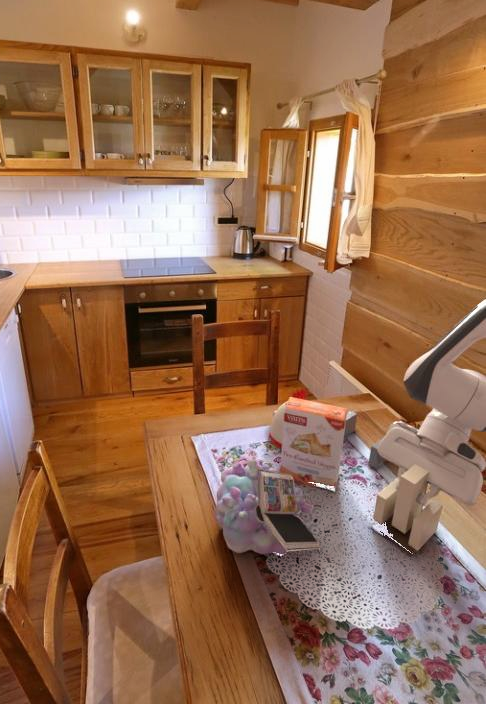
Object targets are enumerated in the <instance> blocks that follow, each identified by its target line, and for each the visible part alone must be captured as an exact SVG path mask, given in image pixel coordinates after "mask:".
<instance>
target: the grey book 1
mask: <svg viewBox="0 0 486 704" xmlns="http://www.w3.org/2000/svg"><path fill="white" fill-rule="evenodd" d="M357 421H358V413H356V411H353V410H351V411H349V412H347V417H346V424H345V432H344V438H346V437H347V436H349V435H350V434H353V433H354V432H356V426H357Z"/></svg>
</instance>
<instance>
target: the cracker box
mask: <svg viewBox="0 0 486 704" xmlns="http://www.w3.org/2000/svg"><path fill="white" fill-rule="evenodd" d="M287 401H288V402H287ZM287 401H286V402H287V405H286V407H285V413H284V425H283V439H282V449H281V452H280V454H281V455H280V467H279V473H284V474H290V475H292V477H293V479H294V482H297V483H300V484H304V485H308V486H311V487H315V486H316V484H312V483H308V482H314V483H320V484H324V485H329V486H334V487H336V488H337V486H338V480H339V474H340V468H341V461H342V453H343V447H344V439H345V437H344V432H345V424H346V417H347V413H348V408H346V407H341V406H336V405H332V404H326V403H322V402H317V401H316V402H315V401H311V400H308V399H305V400H303V399H298V398H293V396H290V397H288V400H287ZM314 485H315V486H314ZM336 485H337V486H336Z"/></svg>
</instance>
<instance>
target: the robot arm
mask: <svg viewBox="0 0 486 704" xmlns="http://www.w3.org/2000/svg"><path fill="white" fill-rule="evenodd" d="M483 339H486V299H484V300H482V301H481V302H479V304H477V305H476V306H475V307H474V308H473V309H471V310H470V311H469V312H467V314H466V315H464V316H463V317H462V318H461V319H460V320H459V321H458V322H457V323H456V324H455V325H454V326H452V328H451V329H450V330H449V331H447V332H446V333H445V335H443V336H442V337H441V338H440V339H439V340H438V341H437V342H436V343H435V344H434V345H433V346H431V347H430V348H429V349H428V350H427V351H426V352H424V353H423V354H422V355H421V356H420V357H418V358H417V359H415V360H414V361H413V362H412V363H411V364H410V365H409V367H408V368H407V369H406V371H405V373H404V377H403V380H402V383H403V387H404V388H405V391H406V393H407V395H408V397H409V398H410V399H412V400H414V401H416V402H418V403H421V404H423V405H425V406H427V407H430V408H432V410H431V411H430V412H429V413H428V414H426V416H425V418H424V420H423V422H422V423H421V425H420V427H419V428H417V427H415V426H412V425H409V424H407V423H406V422H405V421H402V420H401V421H394V422H392V423H390V425H389V427H388V429H387V432H386V434H385V435H384V436H383V437H382V438H383V439H382V438H381V439H382V441H381V442H380V443H379V445H378V447H377V451H378V453H379V455H380V456H382V457H383V458H385V459H387V460H386V461H389V462H390V463H392V464H394V465H395V466H397V467H398V470H397V476H398V477H397V478H398V479H399V482H398V484H397V486H396V489H397V490H398V488H399V483H400V477H401V475H403V474H404V473H405V472H406V471H407V470H409V469H410V468H411V467H412V466H413V465H415V464H416V465H418V466H419V467H421V468H423V469H425V470H427V471H428V472H429V473H428V475H427V477H426V481H428V484H429V487H428V489H429V490H430V491H428V492H426V494H424V495H422V494H420V493H419V495H418V498H417V499H416V502H418V503H419V504H421V505H422V506H423V507H426V504H427V503H428V501H429V500H430V499H433V498H435V497H437V496H439V493H440V492H443V493H445V494H446V495H448V496H450V497H452V498H453V499H455V500H457V501H458V502H460V503H462V504H464V505H466V506H468V507H471V506H475V504H477V501H478V499H479V497H480V495H481V491H482V488H483V485H484V477H483V474H482V472H483V471H485V469H486V460H485V458H484V456H483V455H482V454H481V453H480V452H479V451H477V450H476V449H475V448H474V447H473V446H472V445H470V444H469V443H468V442H469V440H470V437H471V433H472V430H474V431H476V432H479V433H483V432H484V433H485V432H486V375H484V374H482V373H481V372H479V371H476V370H472V369H468V368H460V367H459V366H456V365H455V364H454V363H453V362H454V361H455V360H456V359H458V357H460V356H461V355H462V354H463V353H464V352H465V351H466V350H468V349H469V348H470V347H472V345H473V344H475V343H476V342H477V341H479V340H483Z"/></svg>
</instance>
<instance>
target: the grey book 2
mask: <svg viewBox="0 0 486 704" xmlns="http://www.w3.org/2000/svg"><path fill="white" fill-rule="evenodd" d="M383 438H384V437H382V438H381V439H379V440H378V441H376V442H374V444H372V445H371V446H370V452H369V460H368V465H369V466H370V467H372V468H374V469H377V468H378V467H380V466H381V465H382V464H384V463H385V462H386V461H388V460H387V459H385V458H383V457H382V456H380V455H379V453H378V451H377V447H378V445H379V443H380V442H381V441H382V439H383Z"/></svg>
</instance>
